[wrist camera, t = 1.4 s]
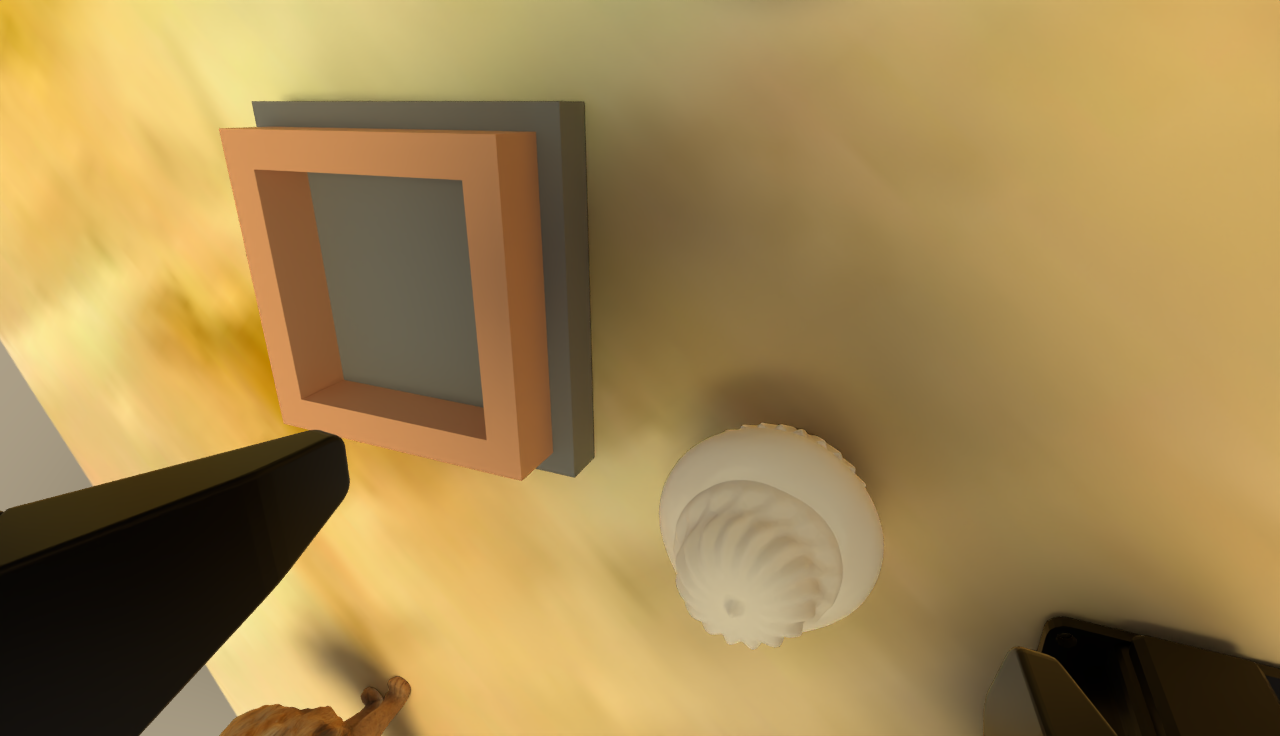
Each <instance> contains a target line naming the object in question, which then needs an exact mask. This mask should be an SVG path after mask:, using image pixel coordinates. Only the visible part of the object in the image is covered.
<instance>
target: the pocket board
mask: <svg viewBox="0 0 1280 736" xmlns="http://www.w3.org/2000/svg"><path fill="white" fill-rule="evenodd" d="M252 105H253V110H254V115H255V120H256V125H257V127H249V128H220V129H219V131H220V136H221V141H222V145H223V150H224V154H225V159H226V163H227V168H228V172H229V177H230V181H231V186H232V190H233V195H234V200H235V204H236V209H237V213H238V218H239V222H240V227H241V231H242V236H243V240H244V245H245V249H246V254H247V259H248V263H249V268H250V272H251V277H252V281H253V286H254V290H255V295H256V299H257V304H258V309H259V313H260V318H261V322H262V327H263V331H264V336H265V340H266V345H267V349H268V354H269V358H270V363H271V368H272V372H273V377H274V381H275V386H276V390H277V395H278V399H279V404H280V408H281V413H282V417H283V422H284V424H288V425H292V426H296V427H300V428H304V429H309V430H321V431H324V432H328V433H331V434H334V435H337V436H339V437H342V438H346V439H350V440H354V441H358V442H362V443H367V444H371V445H375V446H379V447H383V448H387V449H391V450H396V451H400V452H404V453H408V454H412V455H416V456H420V457H425V458H429V459H433V460H437V461H441V462H445V463H449V464H454V465H458V466H462V467H466V468H470V469H474V470H478V471H483V472H487V473H491V474H495V475H499V476H503V477H507V478H512V479H516V480H520V481H522V480H523V479H524V478H525V477H527V476H528V475H529V474H530V473H531V472H532V471H533V470H534V469H540V470H544V471H548V472H553V473H557V474H561V475H566V476H570V477H574V478H575V477H576V476H577V475H578V474H579V473H580V472H581V471H582V470H583V469H584V468H585V466H586V465H587V464H588V463H589V462H590V461H591V460H592V459H593V458H594V434H593V398H592V362H591V326H590V291H589V255H588V219H587V184H586V148H585V112H584V102H563V101H252Z"/></svg>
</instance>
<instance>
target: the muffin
mask: <svg viewBox="0 0 1280 736" xmlns="http://www.w3.org/2000/svg"><path fill="white" fill-rule="evenodd" d="M855 471H856V469H855V467H854V466H853V465H852V464H850V463H849V462H848V461H847V460H845V459H844V458H843V457H842V454H841V452H840V451H838V450H837V449H835V448H834V447H832V446H831V445H829V444H828V443H826V442H825V440H823V439H822V438H820V437H818V436H816V435H809V434H807V433H806V431H805V430H804V429H798V430H796V428H795V427H792V426H788V425H784V424H780V425H774V424H769V423H760V424H759V425H758V426H756V425H742V426H741V427H740V429H736V430H725V432H723V433H720V434H717V435H714V436H712V437H709V438H707V439H705V440H703V441H701V442H700V443H698V444H696V445H695V446H693V447H692V448H691V449H690V450H688V451H687V452H686V453H685V454H684V455H683V456H682V457H681V458H680V459H679V461H678V462H677V463H676V465H675V466H674V468H673V469H672V471H671V472H670V474H669V476H668V478H667V480H666V482H665V484H664V487H663V491H662V495H661V499H660V506H659V519H660V528H661V534H662V538H663V542H664V545H665V548H666V551H667V554H668V556H669V559H670V561H671V563H672V566H673V568H674V570H675V572H676V573H677V574H676V586H677V589H678V591H679V594H680V595H681V597H682V598H683V600H684V601H685V605H686V608H687V610H688V612H689V614H690V615H691V616H692V617H693V618H694V619H696V620H698V621H701V622H702V624H703V627H704V629H705V630H706V631H707V632H708V633H709V634H712V635H717V634H722V635H723V636H724V638H725V641H726V642H727V643H728V644H730V645H732V644H735V643H738V642H743V643H744V644H745V645H746V646H748V647H749V648H750V649H752V650H754V649H756V648H757V647H758V646H759V645H760V644H761V643H764V644H766V645H768V646H771V647H779V646H780V645H781V644H782V642H783V639H784V637H788V638H792V637H799V636H801V634H802V632H806V631H811V630H815V629H818V628H822V627H825V626H827V625H830V624H833V623H835V622H837V621H839V620H841V619H843V618H845V617H846V616H848V615H849V614H851V613H852V612H853V611H855V610H856V609H857V608H858V607H859V606H860V605H861V604H862V603H863V602H864V601H865V599H866V598H867V597H868V595H869V594H870V592H871V591H872V589H873V587H874V585H875V583H876V581H877V579H878V576H879V573H880V570H881V566H882V561H883V554H884V538H883V531H882V526H881V522H880V519H879V516H878V513H877V510H876V508H875V505H874V503H873V501H872V499H871V497H870V495H869V494H868V492H867V490H866V489H865V488H866V484H865V482H864V481H862V480H861V479H860V478H859V477H858V476H857V475H856V474H855Z"/></svg>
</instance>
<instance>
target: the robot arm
mask: <svg viewBox="0 0 1280 736" xmlns="http://www.w3.org/2000/svg"><path fill="white" fill-rule="evenodd" d="M349 484H350V478H349V471H348V464H347V457H346V449H345V444H344V442H343V440H342V439H341V438H340V437H339V436H337V435H334V434H331V433H328V432H324V431H321V430H309V431H305V432H301V433H297V434H294V435H290V436H286V437H282V438H278V439H274V440H271V441H267V442H263V443H259V444H255V445H251V446H247V447H244V448H240V449H236V450H232V451H228V452H224V453H220V454H217V455H213V456H209V457H205V458H201V459H197V460H193V461H190V462H186V463H182V464H178V465H174V466H170V467H166V468H163V469H159V470H155V471H151V472H147V473H143V474H139V475H136V476H132V477H128V478H124V479H120V480H116V481H112V482H109V483H105V484H101V485H97V486H93V487H90V488H85V489H82V490H78V491H74V492H71V493H66V494H62V495H59V496H55V497H51V498H47V499H43V500H39V501H35V502H32V503H28V504H24V505H20V506H16V507H13V508H9V509H7V510H6V511H5V512H3V511H0V736H139V735H140V734H141V733H142V732H143V731H144V730H145V728H147V726H149V724H150V723H151V722H152V721H153V720H154V719H155V718H156V717H157V716H158V715H159V714H160V712H161V711H162V710H163V709H164V708H165V707H166V706H167V705H168V704H169V703H170V702H171V701H172V699H173V698H174V697H175V696H176V695H177V694H178V693H179V692H180V691H181V690H182V689H183V688H184V686H185V685H186V684H187V683H188V682H189V681H190V680H191V679H192V678H193V677H194V676H195V674H196V673H197V672H198V671H199V670H200V669H201V668H202V667H203V666H204V665H205V664H206V663H207V661H208V660H209V659H210V658H211V657H212V656H213V655H214V654H215V653H216V652H217V651H218V649H219V648H220V647H221V646H222V645H223V644H224V643H225V642H226V641H227V640H228V639H229V638H230V636H231V635H232V634H233V633H234V632H235V631H236V630H237V629H238V628H239V627H240V626H241V625H242V623H243V622H244V621H245V620H246V619H247V618H248V617H249V616H250V615H251V614H252V613H253V611H254V610H255V609H256V608H257V607H258V606H259V605H260V604H261V603H262V602H263V601H264V600H265V598H266V597H267V596H268V595H269V594H270V593H271V592H272V591H273V589H274V588H275V587H276V586H277V585H278V584H279V583H280V581H281V580H282V579H283V578H284V576H285V575H286V574H287V573H288V571H289V570H290V569H291V568H292V566H293V565H294V564H295V562H296V561H297V560H298V559H299V557H300V556H301V555H302V553H303V552H304V551H305V549H306V548H307V547H308V545H309V544H310V543H311V542H312V540H313V539H314V538H315V536H316V535H317V534H318V532H319V531H320V530H321V528H322V527H323V526H324V524H325V523H326V522H327V521H328V519H329V518H330V517H331V515H332V514H333V513H334V511H335V510H336V509H337V507H338V506H339V505H340V504H341V502H342V501H343V500H344V498H345V496H346V494H347V492H348V489H349ZM1062 633H1069V634H1071V635H1073V636H1072V637H1070V638H1061V637H1059V636H1058V635H1059V634H1062ZM983 736H1280V669H1278V668H1274V667H1270V666H1265V665H1261V664H1257V663H1254V662H1252V661H1249V660H1245V659H1241V658H1237V657H1233V656H1229V655H1225V654H1220V653H1216V652H1212V651H1208V650H1204V649H1200V648H1196V647H1192V646H1188V645H1183V644H1179V643H1175V642H1171V641H1167V640H1163V639H1159V638H1155V637H1151V636H1142V635H1138V634H1134V633H1130V632H1126V631H1122V630H1118V629H1114V628H1109V627H1105V626H1101V625H1097V624H1093V623H1089V622H1085V621H1081V620H1077V619H1073V618H1068V617H1056V618H1052V619H1050V620H1049V621H1047V623H1046V624H1045V626H1044V629H1043V633H1042V636H1041V640H1040V643H1039V647H1038V650H1037V651H1034V650H1031V649H1027V648H1024V647H1020V646H1017V647H1013V648H1012V649H1011V650H1010V651H1009V652H1008V653H1007V655H1006V657H1005V659H1004V661H1003V663H1002V665H1001V667H1000V669H999V671H998V673H997V675H996V677H995V678H994V680H993V682H992V684H991V686H990V688H989V690H988V693H987V695H986V699H985V704H984V714H983Z"/></svg>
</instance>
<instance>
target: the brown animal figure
mask: <svg viewBox="0 0 1280 736" xmlns="http://www.w3.org/2000/svg"><path fill="white" fill-rule="evenodd" d="M388 687H389V691H388V692H387V693H386V695H385V697H384V700H383V698H382V696H381V694H380V693H379V692H378V691H377V690H376V689H375V688H371V687H368V688H366V689H365V690H364V691H363V693H362V694H361V699H362V702H363V703H364V704H365V707H364V709H362V710H361V711H360V712H359V713H357V714H356V715H354V716H352V717H351V718H349V719H348V720H346V721H344V722H343V721H342V718H341V717H338V716H337V715H336V713H335V712H334V710H333V709H332V708H331V707H329V706H326V707H318V708H315V709H309V708H307V709H303V710H299V709H297V708H294V707H284V706H282V705H280V704H275V705H264V706H262V707H260V708H257V709H253V710H251V711H248V712H246V713H244V714H242V715H240V716H238V717H236V718H235V719H233V721H232V722H231V723H230V724H229V725H228V726H227V728H226V729H225V730H224V731H223V732H222V733H221V734H220V735H219V736H381V734H382V733H383V731H384V730H385V729H386V727H387V726H388V725H389V723H390V722H391V720H392V719H393V718H394V717H395V715H396V714H397V713H398V712H399V710H400V709H401V708H402V707H403V705H404V704H405V702H406V700H407V699H408V696H409V694H410V686H409V684H408V682H407V681H405V680H404V679H403V678H400V677H394V678H392V679H390V680H389V682H388Z"/></svg>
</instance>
